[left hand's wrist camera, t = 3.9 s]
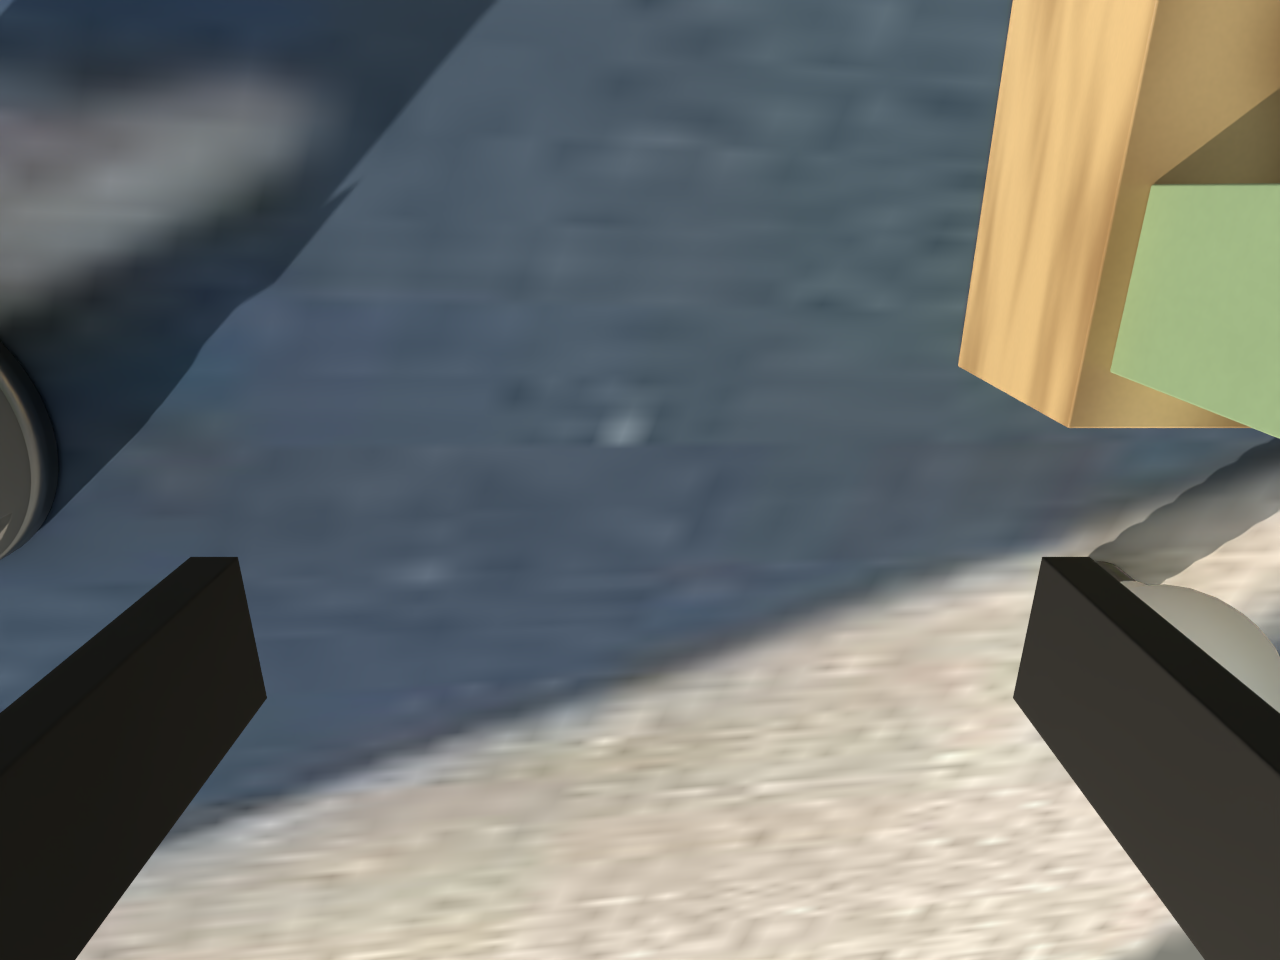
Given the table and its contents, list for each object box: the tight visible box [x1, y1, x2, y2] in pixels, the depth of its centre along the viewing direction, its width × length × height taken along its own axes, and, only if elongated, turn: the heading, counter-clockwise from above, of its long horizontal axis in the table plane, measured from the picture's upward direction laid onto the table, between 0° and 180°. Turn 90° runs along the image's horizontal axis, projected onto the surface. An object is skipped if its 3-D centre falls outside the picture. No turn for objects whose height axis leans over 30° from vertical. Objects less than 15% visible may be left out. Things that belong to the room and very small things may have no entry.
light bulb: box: [1096, 561, 1280, 713], centre depth 35 cm, size 7×7×11 cm
